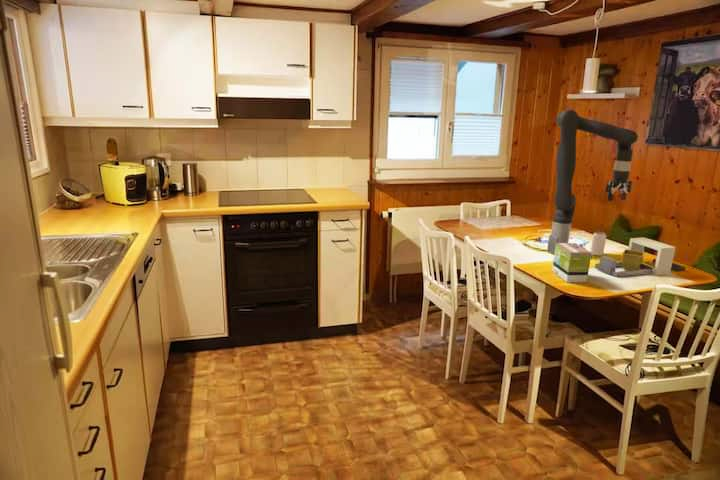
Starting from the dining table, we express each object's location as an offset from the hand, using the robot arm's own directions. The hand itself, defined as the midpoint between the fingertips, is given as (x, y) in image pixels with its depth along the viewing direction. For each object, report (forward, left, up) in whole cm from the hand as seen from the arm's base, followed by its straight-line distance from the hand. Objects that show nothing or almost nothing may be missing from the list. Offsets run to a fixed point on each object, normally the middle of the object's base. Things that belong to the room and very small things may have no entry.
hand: (616, 200), depth 256 cm
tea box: (-46, -24, -30) cm, 60 cm away
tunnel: (+3, -23, -30) cm, 38 cm away
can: (-4, +3, -30) cm, 31 cm away
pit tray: (+17, -23, -30) cm, 42 cm away
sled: (-13, -23, -30) cm, 40 cm away
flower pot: (-8, -23, -30) cm, 39 cm away
